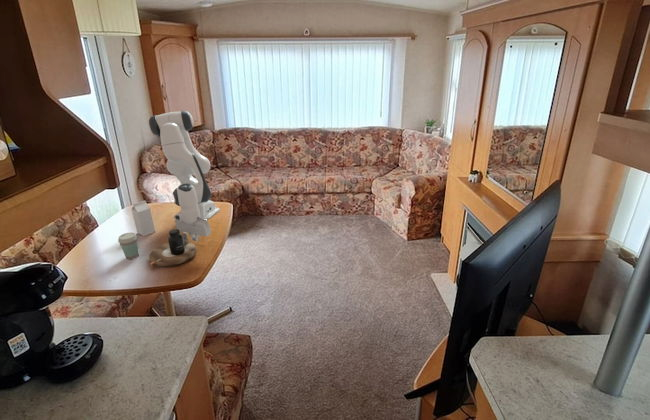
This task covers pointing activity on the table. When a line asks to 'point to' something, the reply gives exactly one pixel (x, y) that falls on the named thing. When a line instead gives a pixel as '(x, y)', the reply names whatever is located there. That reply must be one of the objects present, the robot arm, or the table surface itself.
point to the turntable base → (153, 265)
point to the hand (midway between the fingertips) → (195, 240)
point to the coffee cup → (129, 245)
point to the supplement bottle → (176, 242)
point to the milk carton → (143, 218)
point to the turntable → (165, 258)
